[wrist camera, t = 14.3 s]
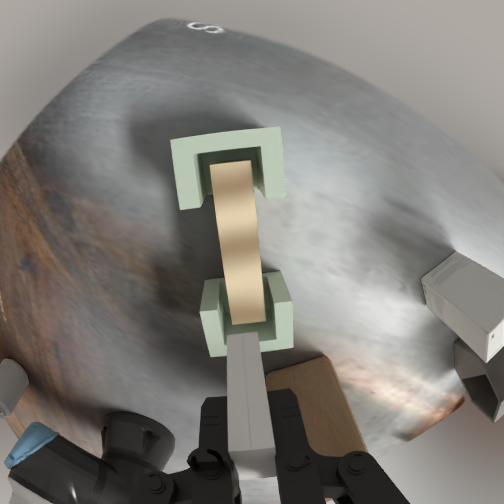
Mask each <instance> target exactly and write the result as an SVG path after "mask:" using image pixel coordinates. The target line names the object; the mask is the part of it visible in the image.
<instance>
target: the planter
mask: <svg viewBox="0 0 504 504" xmlns="http://www.w3.org/2000/svg"><path fill="white" fill-rule="evenodd" d="M454 359H455V370H456V372H457V374H458V376H459V378H460V379H461V381H462V383H463V385H464V387H465V389H466V391H467V393H468V395H469V397H470V399H471V402H472V403H473V404H474V405H475V406H476V407H478V409H479V410H480V411H481V412H482V413H484V414H485V415H486V416H487V417H488V418H489V419H490V420H491V421H492V422H493V423H495V422H496V421H497V420H498V419H499V418H500V417H501V416H502V415H503V414H504V346H503V347H502V348H501V349H500V350H499V351H498V352H497V353H496V354H495V355H494V356H493V357H492V358H491V359H490V360H489V361H488V362H487V363H485V362H484V361H483V360H482V359H481V358H480V357H479V355H478V354H476V353H475V352H474V351H473V350H472V349H471V348H470V347H469V346H468V345H467V344H466V343H465V342H464V341H463V340H462V339H461V338H459V339H458V340H457V341H456V342H454Z"/></svg>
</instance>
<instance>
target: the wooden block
mask: <svg viewBox="0 0 504 504" xmlns="http://www.w3.org/2000/svg"><path fill="white" fill-rule="evenodd" d="M265 382H266V389H267V391H273V390H280V389H287V388H290V389H291V390H292V391H293V393H294V394H295V395H296V396H297V399H298V403H299V408H300V411H301V416H302V419H303V423H304V427H305V431H306V435H307V439H308V443H309V445H310V447H311V448H312V449H313V451H315V452H316V453H318V454H320V455H323V456H334V457H343V456H344V455H346V454H347V453H349V452H353V451H364V452H367V453H368V450H367V448H366V445H365V443H364V440H363V438H362V435H361V433H360V430H359V428H358V425H357V423H356V420H355V418H354V415H353V413H352V410H351V408H350V405H349V403H348V401H347V398H346V396H345V393H344V391H343V389H342V386H341V384H340V381H339V379H338V377H337V374H336V372H335V370H334V367H333V365H332V363H331V360H330V359H329V358H328V357H327V356H321V357H318V358H315V359H312V360H309V361H306V362H303V363H300V364H296V365H293V366H290V367H286V368H283V369H279V370H276V371H272V372H269V373H268V374H266V379H265ZM330 500H333V499H332V498H325V501H326V502H327V501H330Z"/></svg>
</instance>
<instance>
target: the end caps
mask: <svg viewBox="0 0 504 504" xmlns="http://www.w3.org/2000/svg"><path fill="white" fill-rule="evenodd" d="M170 142H171V150H172V158H173V165H174V173H175V180H176V187H177V193H178V200H179V206H180V210H185V209H192V208H199V207H201V205H202V203H203V201H204V199H205V197H206V196H207V195H213V188H212V181H211V172H210V165H211V164H212V163H213V162H220V161H229V160H237V159H247V158H248V159H249V160H251V167H252V177H253V187H254V190H258V189H259V190H260V191H261V193H262V194H263V196H264V197H265V199H266V200H268V199H278V198H287V197H286V183H285V171H284V159H283V147H282V136H281V127H271V128H258V129H246V130H237V131H228V132H219V133H212V134H204V135H197V136H191V137H185V138H179V139H173V140H170ZM262 282H263V293H264V304H265V315H266V321H262V322H254V323H245V324H236V325H232V319H231V313H230V307H229V301H228V294H227V288H226V281H225V278H217V279H208V280H205V283H204V289H203V295H202V300H201V306H200V316H201V320H202V324H203V329H204V333H205V337H206V341H207V345H208V349H209V353H210V357H218V356H227V335H234V334H243V333H251V332H258V338H259V345H260V352H266V351H273V350H280V349H287V348H293V313H292V299H291V297H290V294H289V291H288V289H287V286H286V283H285V281H284V278H283V276H282V273H281V271H277V272H269V273H262Z"/></svg>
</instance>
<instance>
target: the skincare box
mask: <svg viewBox="0 0 504 504" xmlns="http://www.w3.org/2000/svg"><path fill="white" fill-rule="evenodd" d="M421 282H422V286H423V290H424V295H425V299H426V303H427V307H428V308H429V309H430V310H431V311H432V312H433V313H434V314H435V315H436V316H438V317H439V318H440V319H441V320H442V321H443V322H444V323H445V324H446V325H447V326H448V327H449V328H451V329H452V330H453V331H454V332H455V333H456V334H457V335H458V336H459V337H460V338H461V339H462V340H463V341H464V342H465V343H466V344H467V345H468V346H469V347H470V348H471V349H472V350H473V351H474V352H475V353H476V354H478V355H479V357H480V358H481V359H482V360H483V361H484V362H485V363H487V362H488V361H489V360H490V359H491V358H492V357H493V356H494V355H495V354H496V353H497V352H498V351H499V350H500V349H501V348H502V347H503V346H504V278H502V277H500V276H499V275H497V274H495V273H494V272H492V271H490V270H489V269H487V268H485V267H483V266H482V265H480V264H478V263H477V262H475V261H473V260H471V259H470V258H468V257H466V256H464V255H462V254H460V253H459V252H457V251H455V252H454V253H453V254H452V255H450V256H449V257H448V258H447V259H446V260H444V261H443V262H442V263H440V264H439V265H438V266H437V267H435V268H434V269H433V270H431V271H430V272H429V273H427V274H426V275H425V276H423V277H422V278H421Z"/></svg>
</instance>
